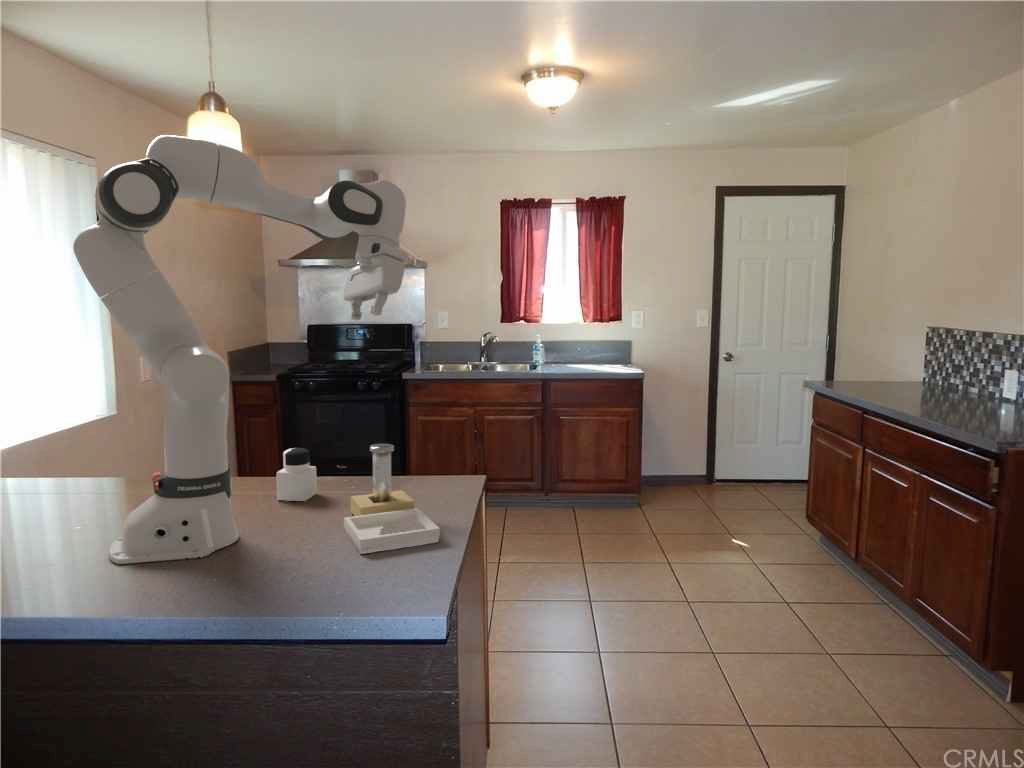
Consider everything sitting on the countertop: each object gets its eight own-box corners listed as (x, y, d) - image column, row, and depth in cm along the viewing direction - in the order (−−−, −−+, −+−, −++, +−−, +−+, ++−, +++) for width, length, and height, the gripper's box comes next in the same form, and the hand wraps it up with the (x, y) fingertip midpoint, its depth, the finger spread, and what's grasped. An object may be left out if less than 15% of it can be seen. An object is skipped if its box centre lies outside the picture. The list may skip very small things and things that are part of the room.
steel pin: (373, 521, 143) (373, 449, 141) (367, 514, 148) (367, 444, 146) (396, 517, 146) (396, 447, 144) (390, 511, 150) (389, 442, 148)
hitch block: (360, 525, 140) (360, 507, 140) (350, 513, 148) (350, 496, 147) (414, 518, 145) (414, 501, 145) (402, 506, 153) (401, 490, 153)
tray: (360, 555, 124) (360, 540, 124) (344, 531, 136) (343, 517, 136) (439, 542, 131) (439, 528, 131) (417, 521, 144) (417, 508, 143)
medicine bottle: (317, 494, 162) (316, 446, 161) (305, 502, 155) (304, 453, 154) (289, 492, 163) (288, 445, 161) (276, 501, 156) (275, 452, 154)
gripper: (342, 259, 148) (331, 318, 146) (386, 242, 132) (374, 307, 130) (367, 268, 152) (356, 325, 150) (413, 252, 136) (401, 316, 134)
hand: (365, 317), depth 140 cm, fingers open, 8 cm apart
